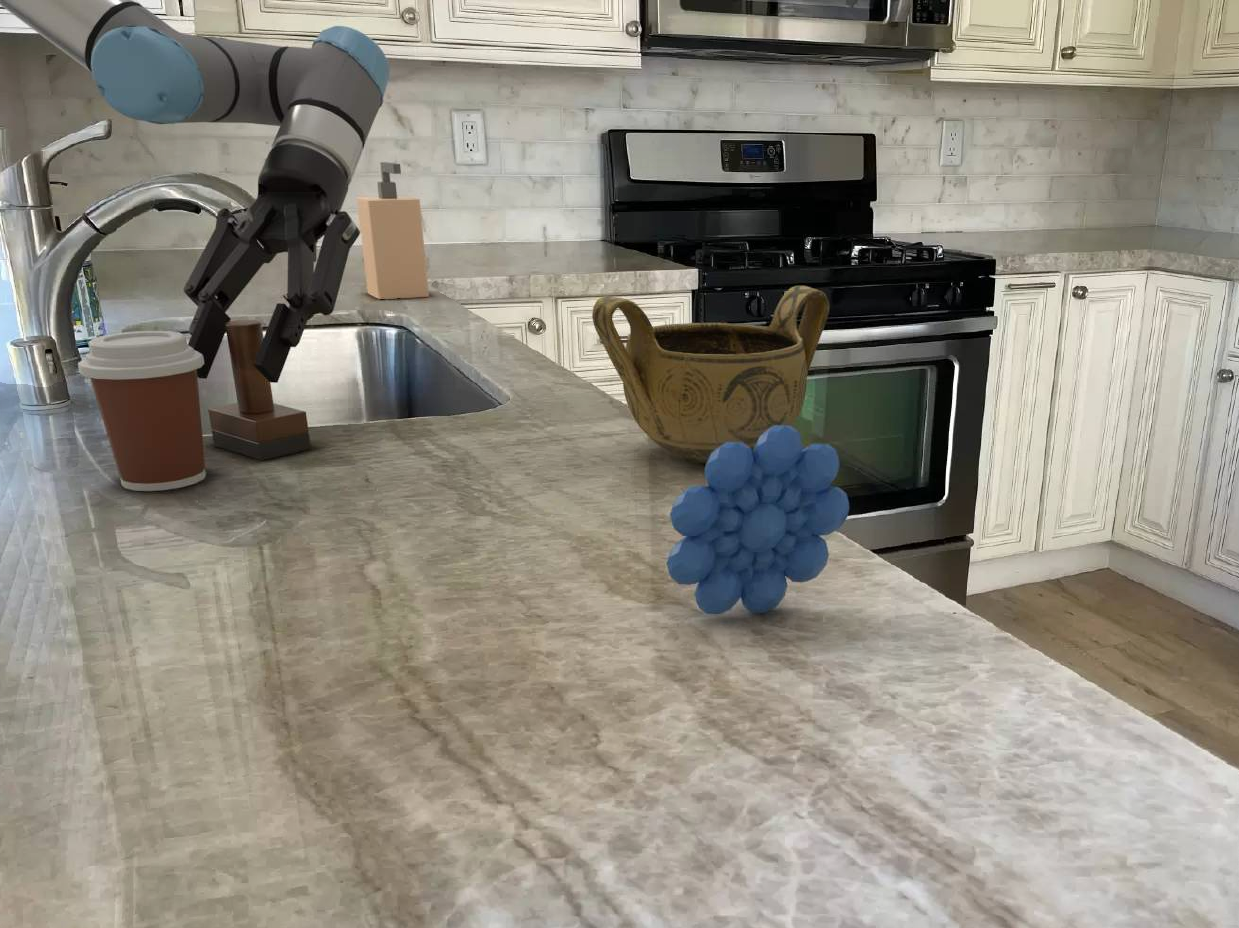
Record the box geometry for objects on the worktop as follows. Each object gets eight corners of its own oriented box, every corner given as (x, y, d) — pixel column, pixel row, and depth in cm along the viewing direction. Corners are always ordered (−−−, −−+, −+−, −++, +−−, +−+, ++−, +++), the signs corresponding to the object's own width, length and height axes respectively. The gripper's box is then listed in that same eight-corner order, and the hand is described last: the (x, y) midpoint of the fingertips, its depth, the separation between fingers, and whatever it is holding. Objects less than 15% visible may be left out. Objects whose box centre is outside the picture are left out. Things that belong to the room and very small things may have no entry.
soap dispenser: (367, 293, 199) (352, 161, 191) (416, 290, 203) (403, 161, 195) (384, 303, 189) (369, 164, 181) (435, 299, 193) (423, 163, 185)
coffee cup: (132, 465, 100) (105, 328, 95) (238, 463, 100) (216, 328, 96) (82, 496, 91) (50, 348, 87) (199, 495, 92) (172, 347, 87)
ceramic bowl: (645, 497, 92) (640, 312, 87) (567, 448, 106) (558, 285, 100) (866, 460, 103) (873, 293, 98) (769, 420, 117) (771, 271, 111)
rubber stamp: (213, 446, 106) (192, 321, 101) (263, 435, 109) (244, 314, 105) (261, 460, 101) (241, 331, 97) (311, 449, 105) (294, 323, 101)
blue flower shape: (820, 577, 76) (825, 403, 72) (859, 616, 70) (868, 429, 66) (652, 597, 73) (647, 415, 69) (678, 639, 67) (675, 444, 63)
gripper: (419, 198, 109) (349, 400, 100) (242, 194, 113) (160, 389, 104) (384, 140, 103) (306, 352, 94) (198, 138, 106) (105, 342, 98)
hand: (229, 371), depth 99 cm, fingers open, 6 cm apart
